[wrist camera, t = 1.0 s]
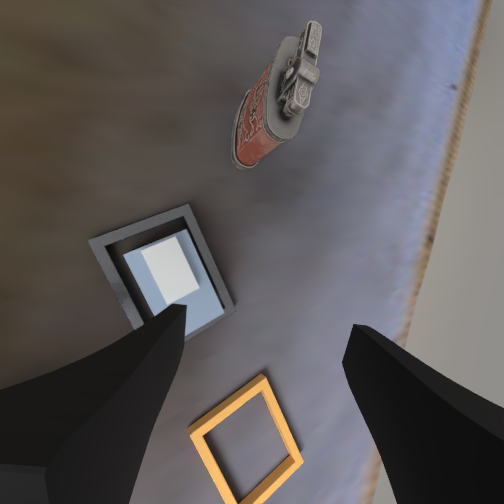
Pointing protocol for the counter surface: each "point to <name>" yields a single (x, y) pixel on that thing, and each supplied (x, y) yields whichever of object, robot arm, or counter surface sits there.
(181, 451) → the counter surface
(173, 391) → the counter surface
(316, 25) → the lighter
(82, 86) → the counter surface
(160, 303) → the plug
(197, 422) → the orange picture frame
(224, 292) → the open gray picture frame
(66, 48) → the counter surface
